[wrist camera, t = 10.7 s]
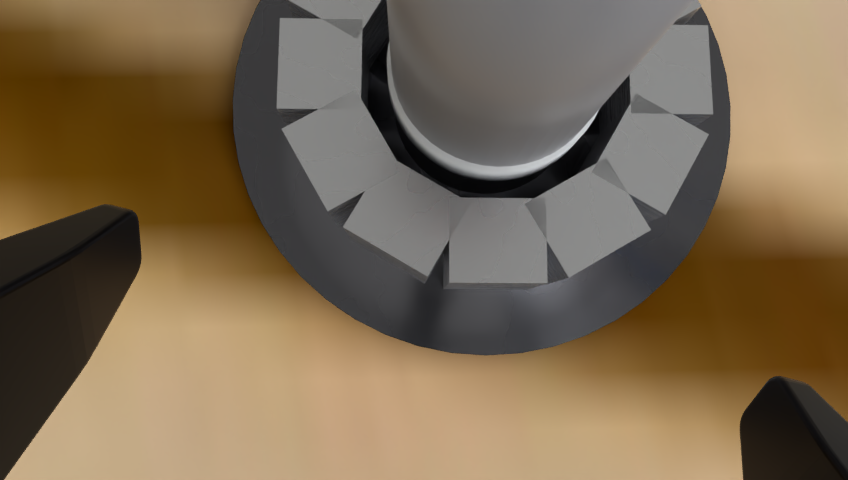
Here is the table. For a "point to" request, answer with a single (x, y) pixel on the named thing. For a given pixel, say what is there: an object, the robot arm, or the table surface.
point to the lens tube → (509, 79)
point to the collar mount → (471, 212)
